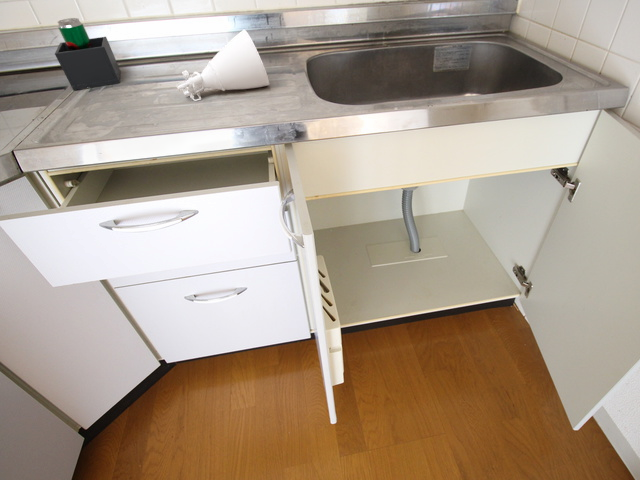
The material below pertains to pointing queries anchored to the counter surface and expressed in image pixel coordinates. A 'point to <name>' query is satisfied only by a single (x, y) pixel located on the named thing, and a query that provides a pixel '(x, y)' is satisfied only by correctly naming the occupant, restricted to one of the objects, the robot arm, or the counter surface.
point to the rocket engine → (229, 69)
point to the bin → (89, 64)
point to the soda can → (74, 34)
